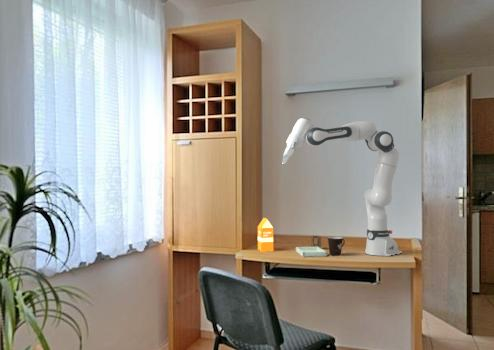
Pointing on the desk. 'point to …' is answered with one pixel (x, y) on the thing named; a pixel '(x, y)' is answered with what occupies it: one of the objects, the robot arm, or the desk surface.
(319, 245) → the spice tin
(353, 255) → the desk surface
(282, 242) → the desk surface
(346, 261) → the desk surface
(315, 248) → the tray
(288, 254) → the desk surface
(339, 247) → the coffee mug
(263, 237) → the orange juice
